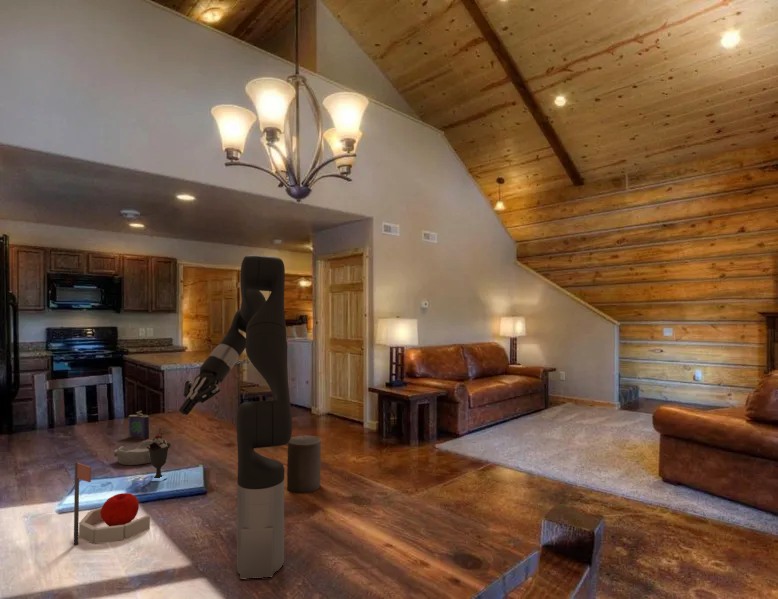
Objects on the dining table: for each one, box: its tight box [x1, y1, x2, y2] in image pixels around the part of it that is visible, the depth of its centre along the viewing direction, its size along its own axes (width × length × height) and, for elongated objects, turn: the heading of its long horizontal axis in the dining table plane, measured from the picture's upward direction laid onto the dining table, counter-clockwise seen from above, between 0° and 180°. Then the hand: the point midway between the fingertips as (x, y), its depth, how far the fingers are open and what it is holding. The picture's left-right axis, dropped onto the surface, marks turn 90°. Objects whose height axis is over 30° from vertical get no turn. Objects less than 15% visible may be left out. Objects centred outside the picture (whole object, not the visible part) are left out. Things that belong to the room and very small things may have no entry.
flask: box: [127, 410, 150, 440], centre depth 180 cm, size 9×3×11 cm, turn 76°
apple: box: [100, 492, 140, 527], centre depth 107 cm, size 8×8×7 cm
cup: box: [73, 461, 151, 546], centre depth 104 cm, size 13×15×18 cm
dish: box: [113, 439, 153, 466], centre depth 154 cm, size 14×14×5 cm
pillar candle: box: [286, 434, 322, 494], centre depth 131 cm, size 10×10×15 cm
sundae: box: [147, 427, 172, 478], centre depth 136 cm, size 7×7×15 cm
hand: (182, 413), depth 121 cm, fingers closed
